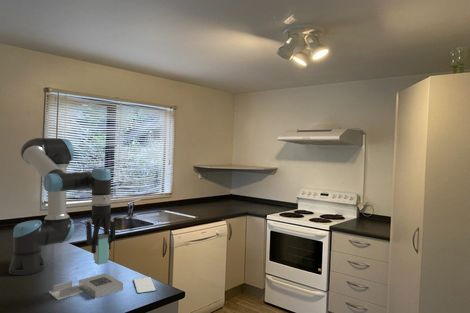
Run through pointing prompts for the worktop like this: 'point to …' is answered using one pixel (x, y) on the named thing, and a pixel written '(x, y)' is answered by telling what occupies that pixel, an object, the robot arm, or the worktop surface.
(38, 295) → the worktop surface
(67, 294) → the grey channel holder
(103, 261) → the plug
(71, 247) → the worktop surface
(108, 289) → the port panel
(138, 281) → the smartphone
